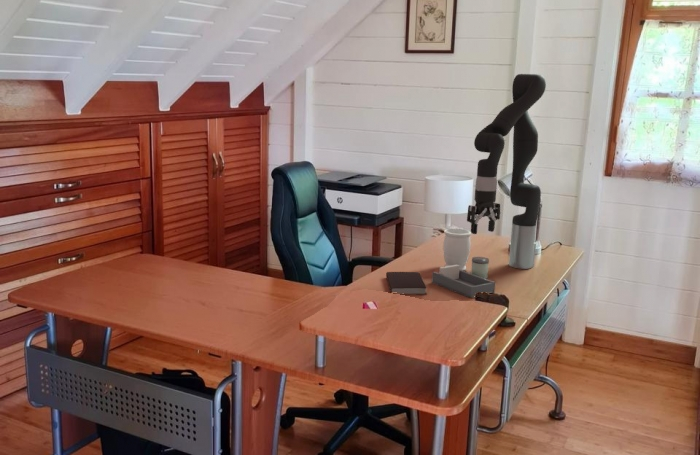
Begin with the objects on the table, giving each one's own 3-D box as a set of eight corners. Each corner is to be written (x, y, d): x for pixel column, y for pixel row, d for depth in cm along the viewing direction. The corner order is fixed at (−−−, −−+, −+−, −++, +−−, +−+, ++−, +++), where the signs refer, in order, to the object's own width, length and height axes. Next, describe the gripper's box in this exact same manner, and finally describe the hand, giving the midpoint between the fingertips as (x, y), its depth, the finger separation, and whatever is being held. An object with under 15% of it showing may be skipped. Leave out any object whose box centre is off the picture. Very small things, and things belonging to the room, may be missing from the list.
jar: (460, 273, 259) (463, 235, 255) (437, 268, 265) (439, 231, 261) (473, 268, 267) (476, 231, 264) (450, 263, 273) (452, 227, 270)
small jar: (478, 276, 256) (480, 255, 254) (490, 281, 251) (492, 259, 249) (466, 279, 252) (468, 258, 250) (478, 283, 247) (480, 262, 245)
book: (390, 295, 232) (390, 286, 232) (385, 278, 251) (386, 270, 250) (426, 296, 233) (427, 287, 232) (419, 279, 252) (420, 271, 251)
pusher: (456, 277, 250) (457, 264, 249) (458, 278, 249) (459, 265, 248) (438, 280, 245) (439, 267, 244) (441, 281, 244) (442, 268, 243)
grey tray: (455, 278, 253) (455, 268, 252) (494, 293, 237) (495, 282, 236) (432, 282, 246) (432, 272, 246) (470, 298, 230) (471, 287, 229)
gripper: (492, 185, 251) (488, 228, 254) (464, 188, 243) (460, 232, 246) (507, 188, 245) (503, 232, 248) (478, 191, 237) (475, 236, 240)
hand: (482, 232), depth 247 cm, fingers open, 8 cm apart
